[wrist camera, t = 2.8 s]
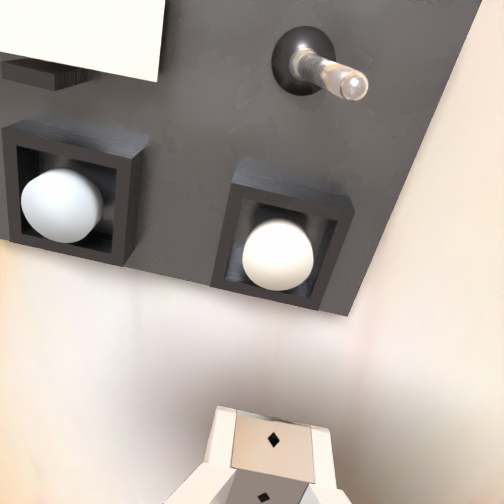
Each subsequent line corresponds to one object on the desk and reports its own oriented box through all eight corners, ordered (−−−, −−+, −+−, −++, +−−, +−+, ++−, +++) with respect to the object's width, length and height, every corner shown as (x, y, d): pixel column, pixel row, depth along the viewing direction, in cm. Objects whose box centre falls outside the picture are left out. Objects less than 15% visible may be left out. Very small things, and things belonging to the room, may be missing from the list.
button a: (320, 226, 19) (322, 238, 18) (301, 283, 21) (302, 297, 20) (252, 211, 19) (250, 221, 18) (238, 269, 21) (235, 282, 19)
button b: (105, 176, 19) (94, 185, 18) (102, 238, 20) (92, 249, 19) (34, 159, 19) (19, 168, 17) (36, 223, 20) (23, 234, 19)
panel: (458, -9, 18) (526, -21, 13) (341, 286, 26) (354, 351, 21) (-49, -143, 17) (-188, -212, 12) (-13, 206, 25) (-89, 253, 20)
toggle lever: (316, 48, 16) (384, 72, 12) (307, 80, 17) (370, 113, 13) (289, 42, 16) (349, 64, 12) (281, 74, 17) (336, 106, 12)
